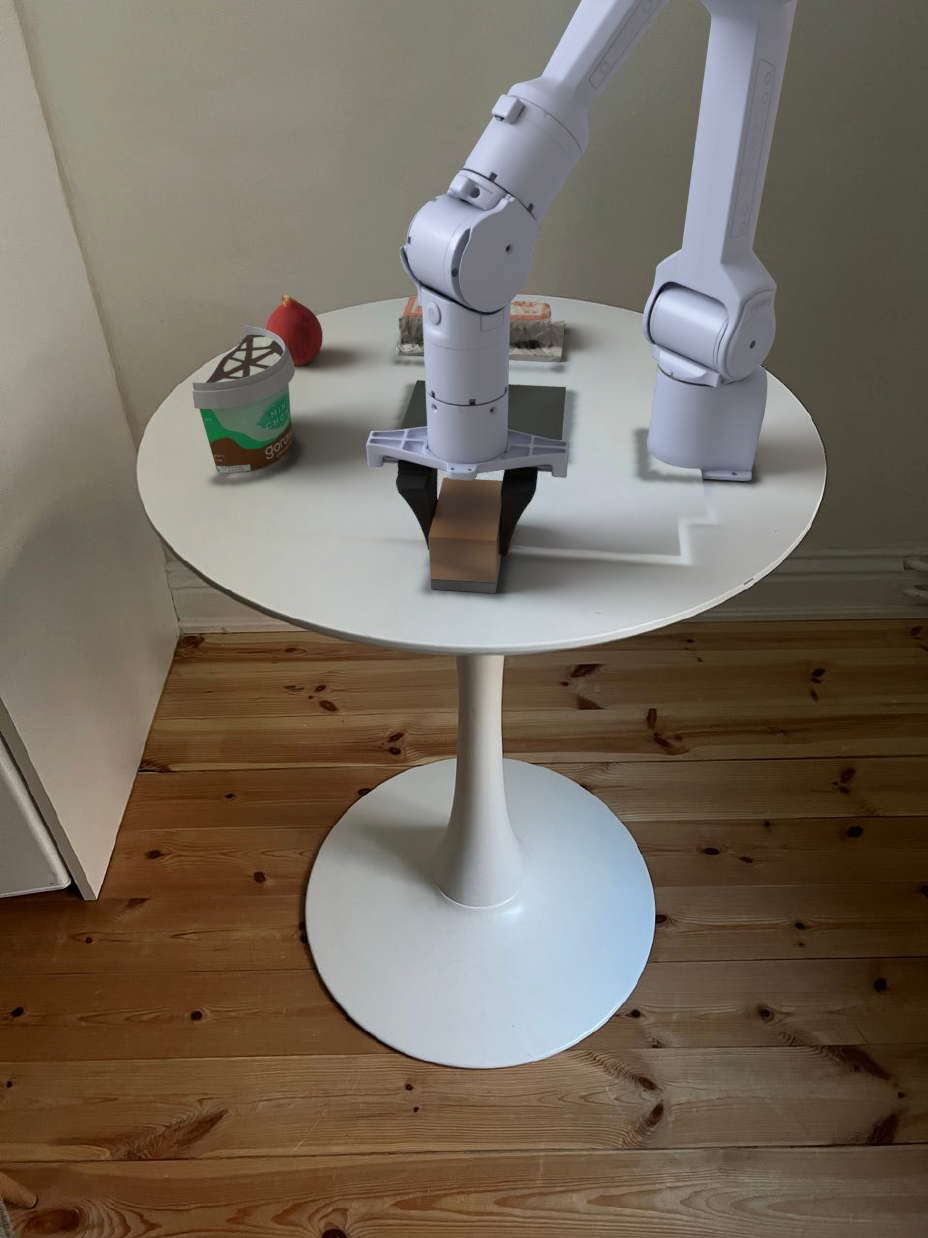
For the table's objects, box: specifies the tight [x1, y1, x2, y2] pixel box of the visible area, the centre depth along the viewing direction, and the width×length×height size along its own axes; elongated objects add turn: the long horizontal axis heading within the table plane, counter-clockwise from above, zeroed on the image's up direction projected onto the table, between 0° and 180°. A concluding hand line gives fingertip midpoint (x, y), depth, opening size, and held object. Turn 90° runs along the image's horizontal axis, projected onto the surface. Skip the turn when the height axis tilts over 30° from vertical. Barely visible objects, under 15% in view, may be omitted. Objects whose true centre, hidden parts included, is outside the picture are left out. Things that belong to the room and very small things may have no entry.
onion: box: [265, 294, 324, 367], centre depth 96 cm, size 6×6×8 cm
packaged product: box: [394, 295, 565, 363], centre depth 100 cm, size 18×5×10 cm
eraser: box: [428, 477, 503, 594], centre depth 71 cm, size 5×8×5 cm, turn 173°
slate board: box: [399, 379, 567, 441], centre depth 89 cm, size 16×13×1 cm
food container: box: [192, 325, 296, 474], centre depth 82 cm, size 12×6×10 cm, turn 168°
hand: (468, 545), depth 72 cm, fingers closed on eraser, 5 cm apart
